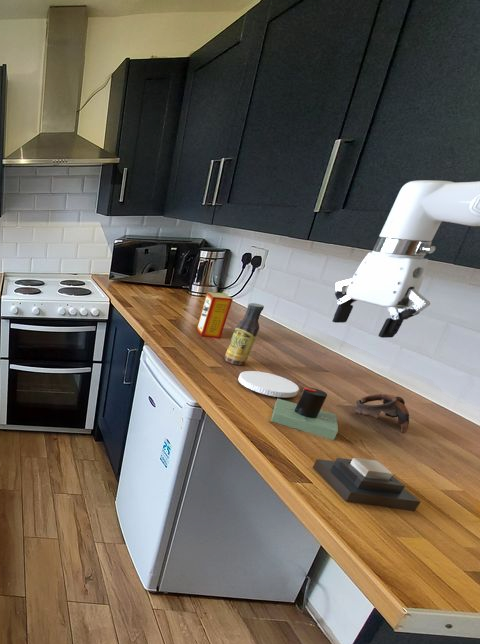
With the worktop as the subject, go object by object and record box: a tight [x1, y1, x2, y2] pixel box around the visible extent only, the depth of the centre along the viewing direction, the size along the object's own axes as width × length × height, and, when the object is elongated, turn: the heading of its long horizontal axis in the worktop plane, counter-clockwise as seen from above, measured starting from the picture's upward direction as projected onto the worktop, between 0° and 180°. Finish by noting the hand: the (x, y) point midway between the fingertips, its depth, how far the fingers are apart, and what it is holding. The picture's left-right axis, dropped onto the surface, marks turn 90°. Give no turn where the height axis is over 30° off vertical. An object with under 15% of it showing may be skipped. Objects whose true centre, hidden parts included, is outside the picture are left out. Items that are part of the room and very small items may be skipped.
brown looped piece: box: [353, 393, 410, 434], centre depth 100 cm, size 12×10×8 cm
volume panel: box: [270, 398, 339, 441], centre depth 98 cm, size 12×10×3 cm
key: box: [350, 457, 394, 480], centre depth 75 cm, size 4×4×2 cm
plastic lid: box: [238, 370, 300, 399], centre depth 114 cm, size 14×14×2 cm
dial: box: [295, 386, 328, 418], centre depth 96 cm, size 4×4×6 cm
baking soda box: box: [195, 291, 234, 339], centre depth 157 cm, size 10×6×16 cm
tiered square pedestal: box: [312, 457, 421, 512], centre depth 76 cm, size 11×10×4 cm
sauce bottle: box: [224, 302, 265, 366], centre depth 129 cm, size 6×6×20 cm
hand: (361, 329), depth 87 cm, fingers open, 9 cm apart
